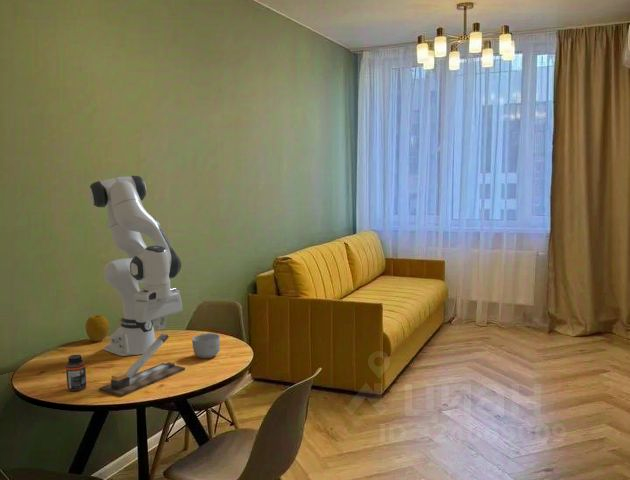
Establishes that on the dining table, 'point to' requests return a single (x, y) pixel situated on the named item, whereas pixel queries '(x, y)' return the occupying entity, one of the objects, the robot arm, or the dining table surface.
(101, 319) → the apple
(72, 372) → the supplement bottle
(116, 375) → the tab
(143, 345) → the robot arm
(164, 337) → the tongs arm
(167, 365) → the board
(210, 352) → the teacup
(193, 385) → the dining table surface
